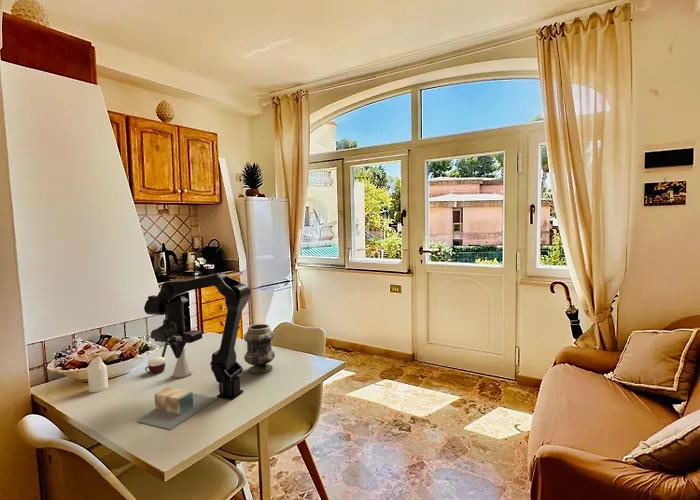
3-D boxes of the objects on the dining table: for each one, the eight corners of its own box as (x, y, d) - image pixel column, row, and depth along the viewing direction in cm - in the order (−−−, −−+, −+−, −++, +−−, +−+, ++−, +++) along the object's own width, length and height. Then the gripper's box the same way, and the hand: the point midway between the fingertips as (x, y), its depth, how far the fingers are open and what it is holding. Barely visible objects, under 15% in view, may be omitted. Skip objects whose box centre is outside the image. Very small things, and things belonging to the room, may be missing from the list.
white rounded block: (83, 361, 134) (89, 355, 139) (86, 393, 135) (92, 387, 140) (103, 358, 136) (107, 353, 141) (105, 390, 137) (110, 384, 142)
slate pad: (218, 399, 128) (217, 398, 128) (170, 430, 110) (170, 429, 110) (187, 393, 133) (187, 392, 133) (137, 421, 115) (137, 421, 115)
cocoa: (146, 377, 149) (142, 348, 147) (145, 371, 154) (142, 343, 152) (172, 371, 153) (169, 343, 151) (171, 365, 159) (168, 338, 157)
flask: (185, 379, 146) (183, 353, 145) (168, 377, 147) (167, 353, 146) (196, 371, 153) (194, 347, 152) (180, 370, 154) (178, 346, 153)
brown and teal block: (168, 401, 127) (193, 406, 123) (155, 408, 122) (181, 414, 118) (167, 387, 126) (192, 392, 122) (154, 393, 122) (180, 399, 118)
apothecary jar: (279, 364, 158) (277, 322, 157) (270, 376, 146) (268, 330, 145) (251, 363, 159) (249, 322, 158) (240, 375, 147) (237, 330, 146)
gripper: (135, 319, 129) (139, 363, 131) (177, 323, 123) (180, 369, 124) (162, 311, 140) (165, 352, 141) (202, 315, 133) (204, 357, 134)
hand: (177, 357), depth 135 cm, fingers closed
